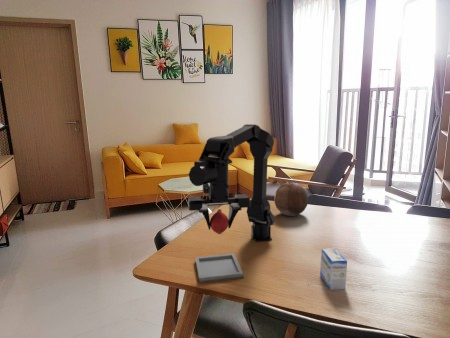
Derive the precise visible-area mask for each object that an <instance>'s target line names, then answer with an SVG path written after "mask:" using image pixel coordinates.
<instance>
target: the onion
mask: <svg viewBox="0 0 450 338" xmlns="http://www.w3.org/2000/svg"><path fill="white" fill-rule="evenodd" d="M222 211H223V210H222V209H220V208H218V209H217V211H216V212H215V213H214V214H212V216H211V218H210V229H211V230H212V231H213V232H214V233H216V234H218V235H222V233H224V232H225V231H226V230H227V229H228V225H229V221H228V216H227V215H226V214H225V213H224V212H222Z"/></svg>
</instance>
